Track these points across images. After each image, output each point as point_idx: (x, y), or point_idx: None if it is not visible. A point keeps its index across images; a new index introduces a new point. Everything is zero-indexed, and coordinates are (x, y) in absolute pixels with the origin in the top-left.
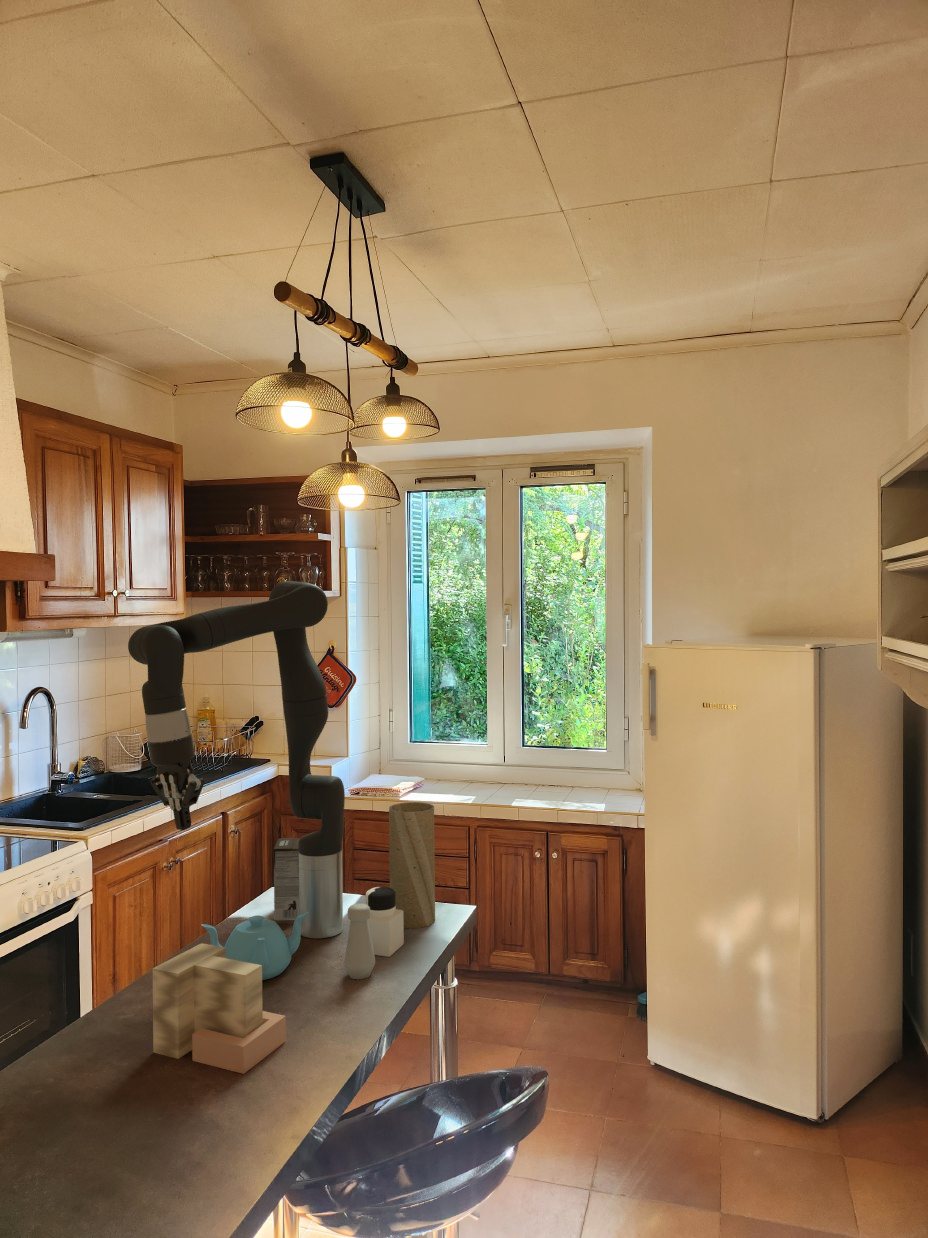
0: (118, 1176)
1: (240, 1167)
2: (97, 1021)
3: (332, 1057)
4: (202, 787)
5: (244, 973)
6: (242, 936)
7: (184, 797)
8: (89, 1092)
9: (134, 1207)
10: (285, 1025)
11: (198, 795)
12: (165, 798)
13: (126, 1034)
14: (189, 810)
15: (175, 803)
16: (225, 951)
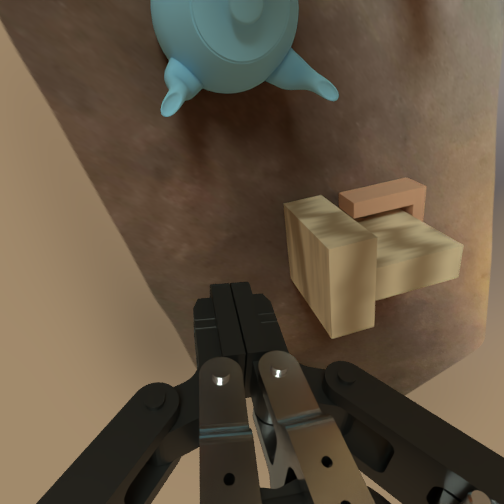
0: (396, 367)
1: (463, 316)
2: (164, 281)
3: (467, 172)
4: (496, 454)
5: (454, 275)
6: (249, 67)
7: (365, 468)
8: (294, 343)
9: (423, 370)
10: (418, 183)
11: (416, 411)
12: (166, 479)
13: (227, 275)
14: (286, 347)
15: (261, 440)
16: (374, 235)
